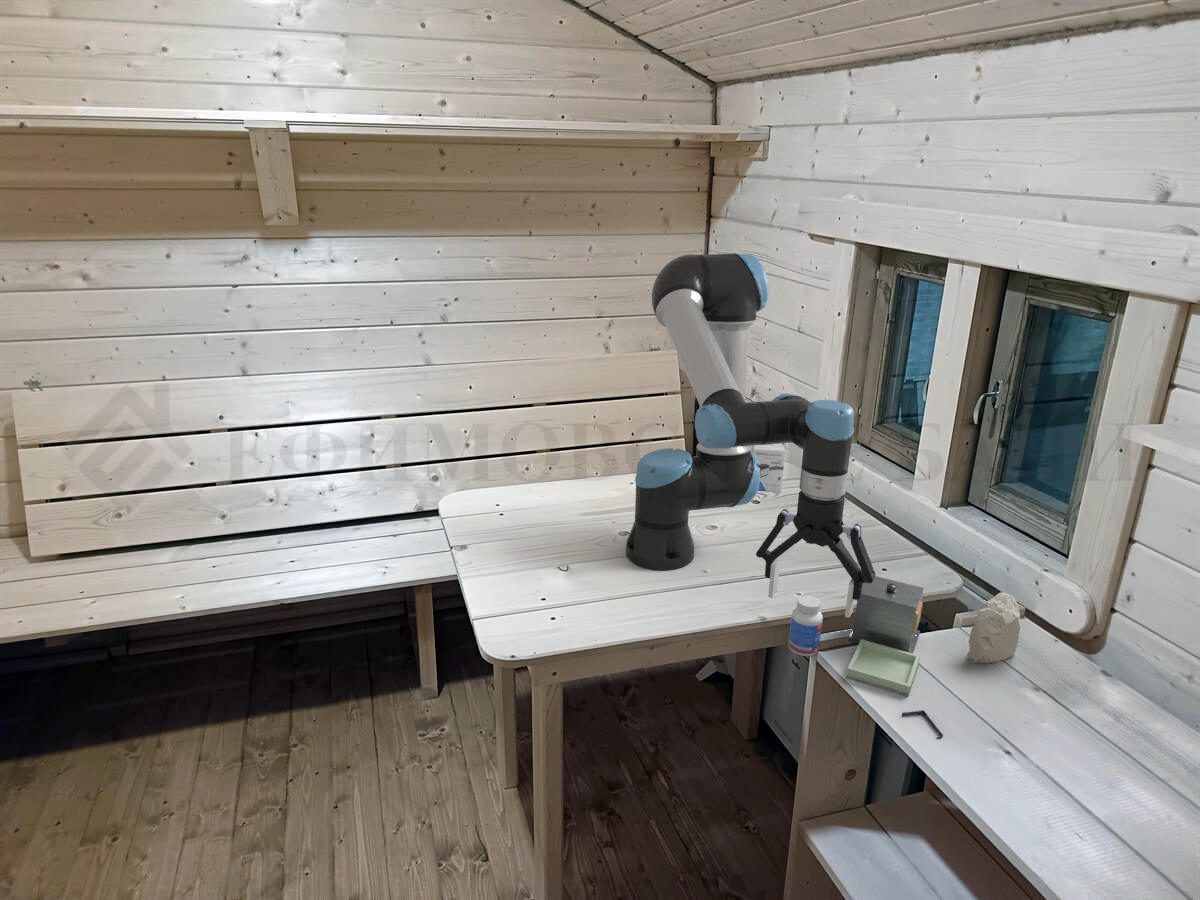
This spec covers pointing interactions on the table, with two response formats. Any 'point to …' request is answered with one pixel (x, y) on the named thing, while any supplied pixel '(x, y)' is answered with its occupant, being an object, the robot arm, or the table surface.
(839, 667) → the table surface
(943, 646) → the table surface
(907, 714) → the l-shaped bracket
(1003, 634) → the stone
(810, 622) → the pill bottle
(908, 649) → the unit
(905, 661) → the tray
